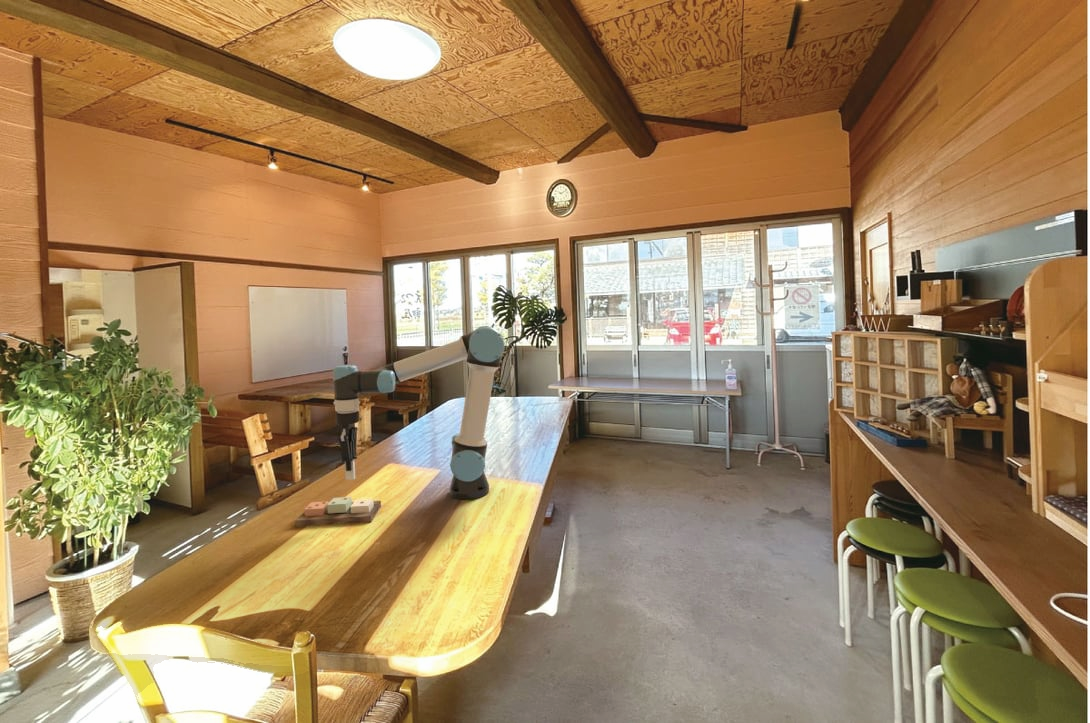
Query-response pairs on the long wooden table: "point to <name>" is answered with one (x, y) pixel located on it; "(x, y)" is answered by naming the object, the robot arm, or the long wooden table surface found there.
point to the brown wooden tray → (338, 517)
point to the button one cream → (362, 506)
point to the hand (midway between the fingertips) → (350, 478)
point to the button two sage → (339, 505)
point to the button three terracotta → (316, 508)
